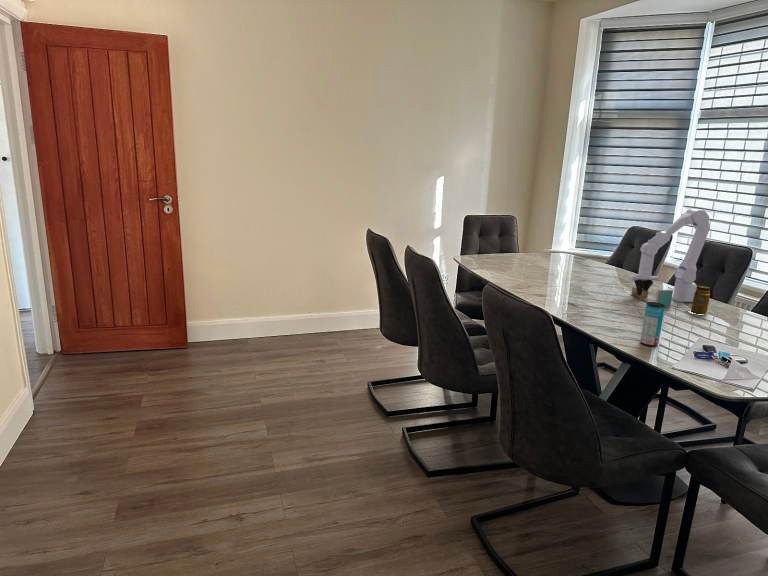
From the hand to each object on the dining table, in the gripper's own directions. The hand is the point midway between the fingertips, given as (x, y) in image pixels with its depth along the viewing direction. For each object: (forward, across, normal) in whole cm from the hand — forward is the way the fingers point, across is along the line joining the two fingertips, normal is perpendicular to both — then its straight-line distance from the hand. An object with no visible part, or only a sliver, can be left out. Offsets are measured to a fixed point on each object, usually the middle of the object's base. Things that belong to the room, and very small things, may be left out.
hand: (641, 294), depth 259 cm
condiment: (+2, -10, +26) cm, 28 cm away
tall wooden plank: (+2, 0, +2) cm, 3 cm away
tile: (+2, 0, +16) cm, 17 cm away
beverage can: (+2, +40, +66) cm, 78 cm away
